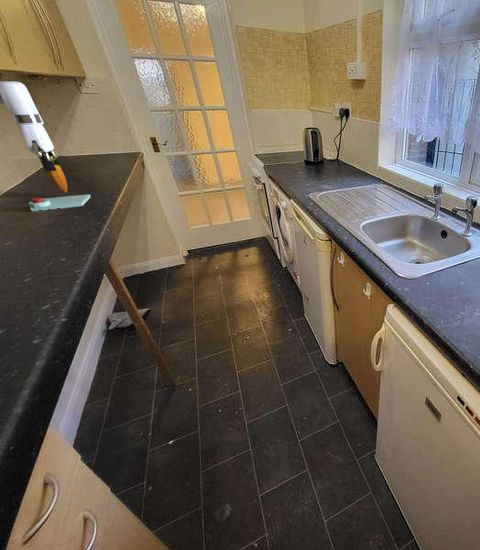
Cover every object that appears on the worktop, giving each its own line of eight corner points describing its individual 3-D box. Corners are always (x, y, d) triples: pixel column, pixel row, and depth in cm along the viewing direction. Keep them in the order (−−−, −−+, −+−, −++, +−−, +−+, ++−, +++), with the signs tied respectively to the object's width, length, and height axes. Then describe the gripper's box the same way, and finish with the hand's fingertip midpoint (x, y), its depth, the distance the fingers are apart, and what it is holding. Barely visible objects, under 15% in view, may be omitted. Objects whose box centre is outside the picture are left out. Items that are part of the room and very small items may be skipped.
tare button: (32, 204, 118) (30, 200, 117) (35, 201, 120) (33, 198, 119) (42, 203, 119) (40, 199, 118) (45, 201, 121) (43, 197, 120)
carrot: (69, 190, 129) (50, 154, 121) (75, 192, 127) (56, 155, 120) (55, 193, 126) (35, 156, 118) (61, 195, 124) (41, 157, 116)
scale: (30, 212, 117) (25, 204, 116) (43, 201, 128) (39, 194, 127) (82, 206, 124) (78, 199, 122) (91, 197, 135) (88, 190, 133)
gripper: (24, 118, 117) (49, 166, 126) (4, 121, 104) (33, 174, 114) (49, 118, 120) (71, 165, 129) (32, 121, 107) (58, 173, 117)
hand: (53, 169), depth 121 cm, fingers closed on carrot, 4 cm apart
